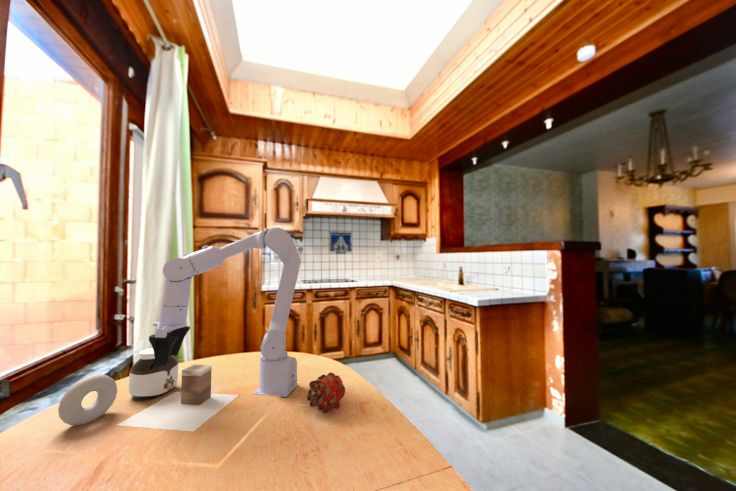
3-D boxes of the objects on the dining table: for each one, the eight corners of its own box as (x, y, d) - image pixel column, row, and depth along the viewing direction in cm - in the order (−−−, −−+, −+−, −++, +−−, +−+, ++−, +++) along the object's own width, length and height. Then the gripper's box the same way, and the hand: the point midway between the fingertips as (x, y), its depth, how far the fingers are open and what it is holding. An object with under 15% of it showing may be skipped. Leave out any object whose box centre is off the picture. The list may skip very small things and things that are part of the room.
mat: (239, 397, 74) (239, 395, 74) (193, 433, 58) (193, 431, 58) (176, 393, 76) (176, 391, 76) (115, 427, 60) (116, 425, 60)
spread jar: (143, 406, 69) (145, 357, 70) (113, 399, 73) (115, 353, 74) (188, 385, 81) (190, 344, 82) (160, 380, 84) (161, 340, 85)
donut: (62, 437, 57) (65, 386, 58) (52, 434, 58) (55, 384, 59) (120, 412, 66) (121, 368, 67) (110, 410, 68) (112, 367, 68)
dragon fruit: (312, 429, 62) (331, 410, 73) (343, 407, 61) (357, 391, 73) (293, 392, 64) (315, 379, 76) (323, 371, 64) (340, 361, 75)
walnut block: (210, 397, 73) (211, 365, 73) (199, 405, 69) (200, 371, 69) (192, 396, 73) (193, 364, 74) (180, 403, 69) (181, 370, 70)
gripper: (167, 300, 78) (160, 351, 77) (143, 309, 65) (134, 370, 63) (196, 302, 80) (189, 351, 79) (179, 310, 67) (170, 370, 65)
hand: (167, 360), depth 71 cm, fingers open, 7 cm apart
